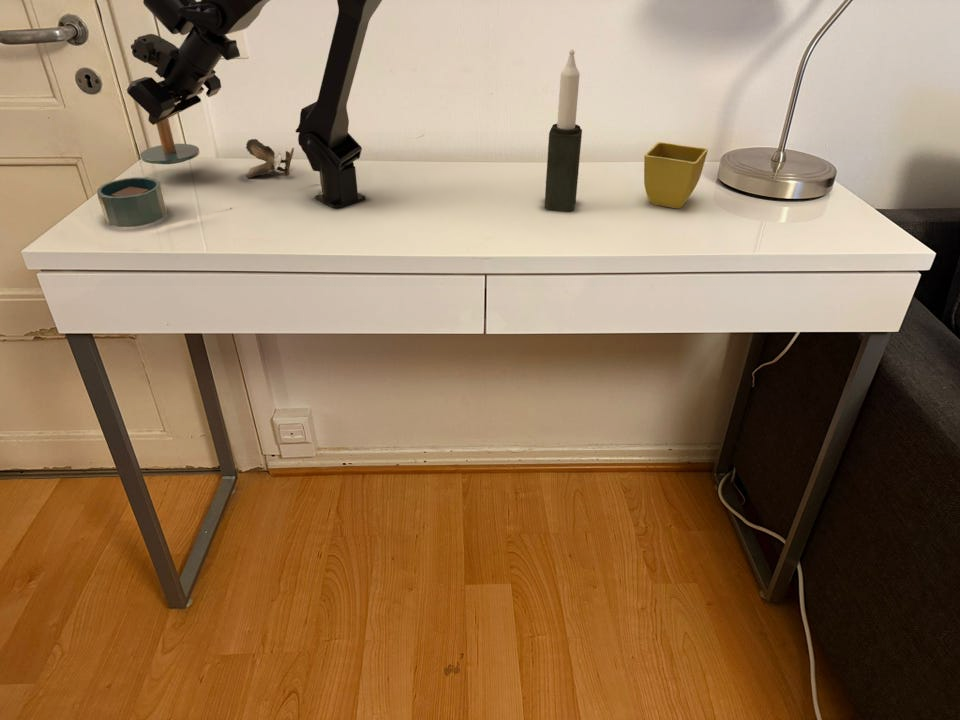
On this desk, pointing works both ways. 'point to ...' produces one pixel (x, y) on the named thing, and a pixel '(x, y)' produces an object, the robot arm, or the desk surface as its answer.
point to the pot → (132, 202)
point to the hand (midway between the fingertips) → (155, 120)
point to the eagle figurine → (266, 159)
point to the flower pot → (672, 173)
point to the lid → (168, 148)
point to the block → (129, 191)
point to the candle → (564, 145)
